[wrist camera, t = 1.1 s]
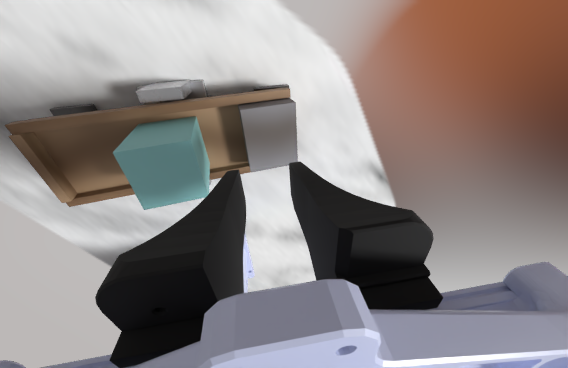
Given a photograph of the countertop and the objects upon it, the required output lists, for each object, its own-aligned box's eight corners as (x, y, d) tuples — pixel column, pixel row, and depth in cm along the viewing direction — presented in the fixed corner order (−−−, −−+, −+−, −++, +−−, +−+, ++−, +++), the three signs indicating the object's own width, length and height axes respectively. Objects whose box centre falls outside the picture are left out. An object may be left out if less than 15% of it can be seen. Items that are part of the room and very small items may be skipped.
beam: (285, 152, 22) (298, 170, 19) (85, 188, 19) (59, 217, 16) (281, 83, 19) (295, 92, 16) (33, 113, 15) (-14, 132, 12)
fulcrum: (291, 157, 23) (297, 173, 20) (101, 181, 22) (80, 201, 19) (287, 70, 19) (293, 75, 16) (45, 93, 17) (8, 103, 14)
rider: (209, 163, 19) (208, 196, 15) (159, 172, 18) (144, 209, 14) (196, 116, 17) (190, 140, 12) (138, 124, 16) (112, 152, 12)
